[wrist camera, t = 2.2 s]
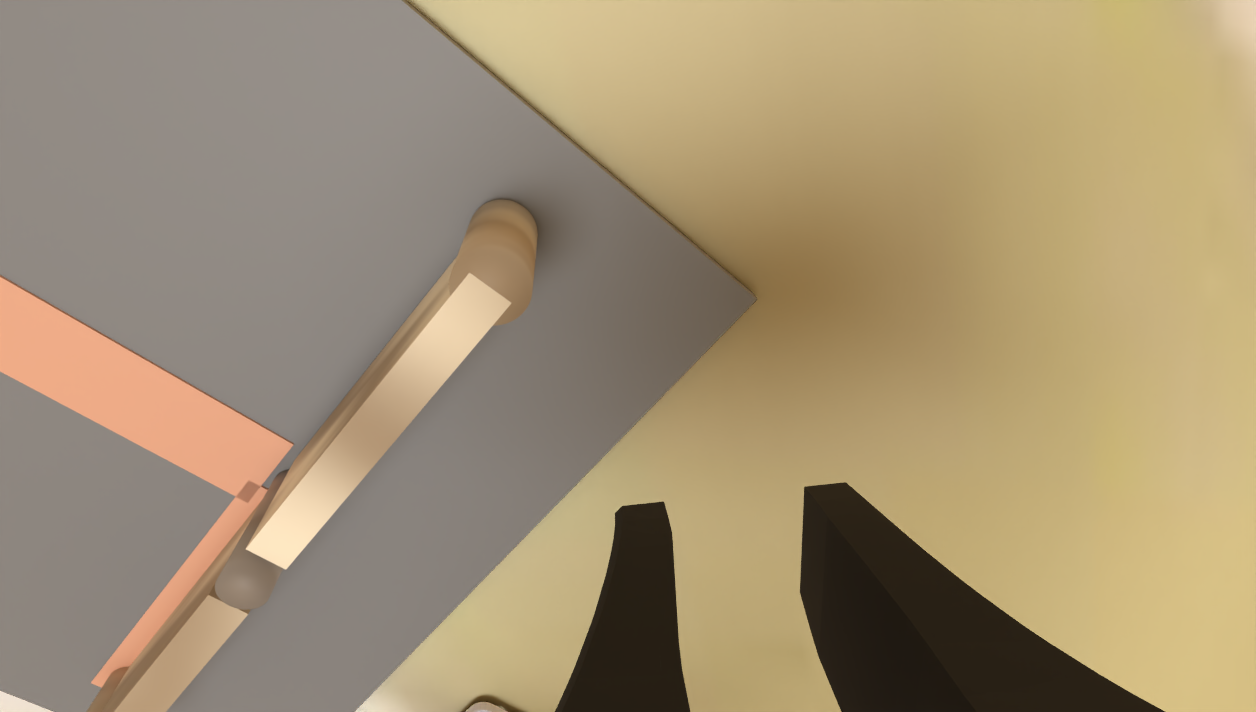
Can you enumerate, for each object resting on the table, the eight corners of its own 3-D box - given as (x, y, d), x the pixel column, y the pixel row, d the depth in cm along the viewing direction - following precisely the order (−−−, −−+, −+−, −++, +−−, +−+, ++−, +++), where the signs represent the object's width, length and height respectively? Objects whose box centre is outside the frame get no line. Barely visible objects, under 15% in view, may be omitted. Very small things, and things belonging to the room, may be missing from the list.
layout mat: (753, 293, 20) (757, 300, 19) (275, 785, 27) (270, 798, 26) (45, -304, 13) (28, -313, 13) (-334, 543, 21) (-352, 555, 20)
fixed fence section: (333, 487, 21) (288, 589, 17) (150, 707, 24) (80, 831, 21) (280, 457, 20) (222, 557, 17) (100, 687, 24) (19, 810, 20)
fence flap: (337, 484, 21) (297, 575, 18) (283, 454, 20) (232, 542, 17) (551, 228, 18) (549, 282, 15) (496, 185, 17) (481, 231, 14)
